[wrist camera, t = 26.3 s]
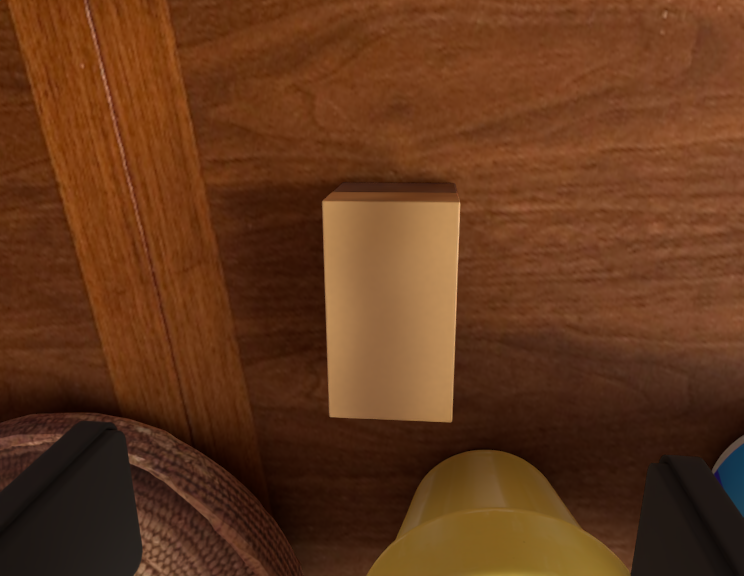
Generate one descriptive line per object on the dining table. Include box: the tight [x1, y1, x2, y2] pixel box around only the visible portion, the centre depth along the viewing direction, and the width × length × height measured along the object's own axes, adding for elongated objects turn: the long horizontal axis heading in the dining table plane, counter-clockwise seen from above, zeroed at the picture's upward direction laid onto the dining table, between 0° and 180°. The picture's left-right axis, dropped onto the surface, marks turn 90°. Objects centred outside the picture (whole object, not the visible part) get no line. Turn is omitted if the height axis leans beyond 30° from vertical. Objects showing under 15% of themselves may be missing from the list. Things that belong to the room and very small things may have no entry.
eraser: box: [322, 182, 460, 422], centre depth 23 cm, size 4×8×4 cm, turn 0°
